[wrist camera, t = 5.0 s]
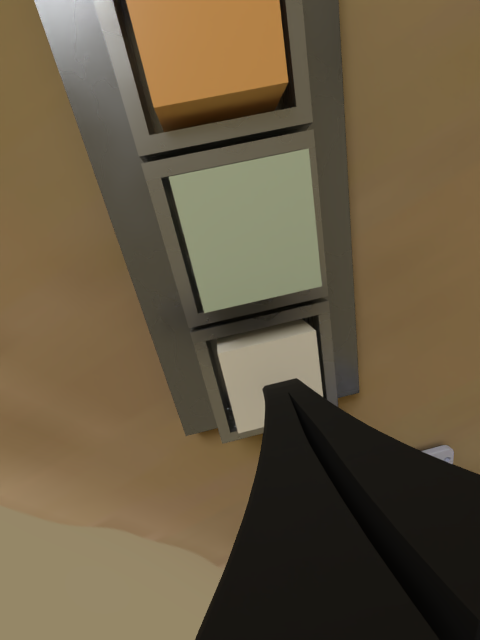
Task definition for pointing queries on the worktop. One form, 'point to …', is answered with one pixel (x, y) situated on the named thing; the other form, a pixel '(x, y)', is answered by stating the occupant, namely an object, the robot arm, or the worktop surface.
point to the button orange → (210, 58)
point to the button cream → (266, 366)
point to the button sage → (250, 229)
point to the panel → (199, 154)
